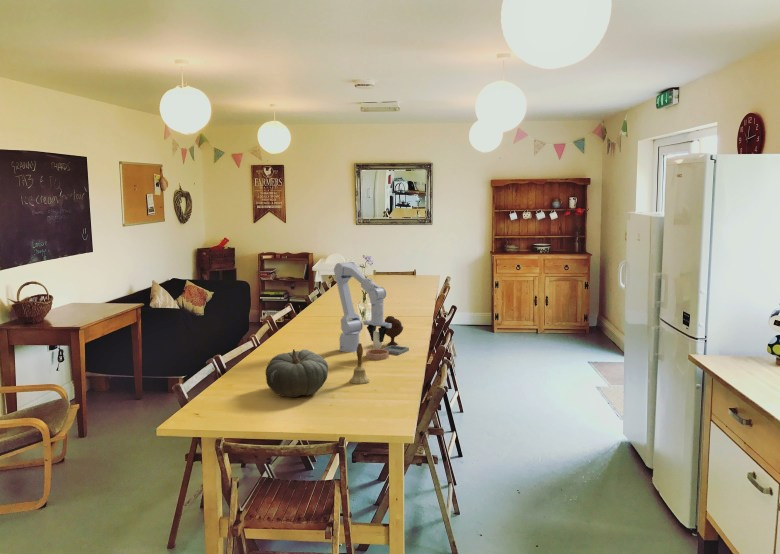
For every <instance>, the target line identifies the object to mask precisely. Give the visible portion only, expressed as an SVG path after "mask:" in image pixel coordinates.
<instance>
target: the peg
mask: <svg viewBox="0 0 780 554" xmlns="http://www.w3.org/2000/svg"><path fill="white" fill-rule="evenodd" d="M382 344H383V342H380V340H379V330H376V331H373V341H372V348H373V349H383V348H382Z"/></svg>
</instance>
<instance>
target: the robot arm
mask: <svg viewBox="0 0 780 554" xmlns="http://www.w3.org/2000/svg"><path fill="white" fill-rule="evenodd" d="M333 272H334V277H335V282H336V286H337V290H338V295H339V298H340V302H341V303H340V304H341V306H342V312H343V316H342V317H341V319H340V329H341V333H340V336H339V349H338V351H339V352H348V353H353V354H356V353H357V347H358V344H359V343H360V333H361V331H362V330H363V327H364V326H366V329H367V332H368V333H369V336H370V340H371V342H373V331H379V340H380V342H382V343H383V342H384V339H385V336H386V334H385V333H386V331H387V329H388V328H392V324H391V323H386V322H385V321H384V299H385V298H386V297H387V292H386V289H385V288H384V287H383V286H379V285H378V284H376V283H375V282H374V280H373V279H372V278H369V277H366V276H364V275H363V273H362V272H361V271H360V269H358V265H357V264H356V263H355V262H353V261H350V262H341V263H340V262H338V263H336V264H335V266H334V268H333ZM352 278H354V279H355V280H356V281H357V282H358V283H359V284H360V287H361V288H362V289H363V290H364V292H365V293H367V294H368V298H369V300H370V301H369V303H370V305H371V310H370V313H371V314H370V315H371V317H370V319H371V320H368V319H366V320H362V319H361V317H360V315H359V314H357V313H356V312H355V309H354V308H355V307H354V303H353V300H352V294H351V291H350V286H349V283H348V282H349V280H351V279H352ZM377 327H378V329H377Z"/></svg>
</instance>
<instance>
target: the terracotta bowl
mask: <svg viewBox="0 0 780 554" xmlns="http://www.w3.org/2000/svg"><path fill="white" fill-rule="evenodd" d="M389 355H390V354H389V351H388V350H384V349H383V348H381V349H374V348H373V349H368V350H366V351H365V358H366V359H368V360H372V361H381V360H387V359H389V357H390V356H389Z"/></svg>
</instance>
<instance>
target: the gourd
mask: <svg viewBox="0 0 780 554" xmlns="http://www.w3.org/2000/svg"><path fill="white" fill-rule="evenodd" d="M328 373H329V364H328V362H327V360H325V359H324V357H323V356H321V355H320V354H318V353H315V352H313V351H311V350H308V349H302V350H295V349H294V348H293V349H292V352H283V353H279V354H277V355H275V356H273V357H272V358H271V360H270V361H269V363H268V364H267V366H266V368H265V377H266V378H265V381H266V384H267V386H268V387H269V389H270V390H271V391H273V392H274V393H275V394H276V395H279V396H281V397H287V398H288V397H289V398H296V397H299V396H312V395H314V394H317V392H318V391H319V390H320V389H321V388H322V387H323V386H324V384H325V382H326V380H327V379H328Z"/></svg>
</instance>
